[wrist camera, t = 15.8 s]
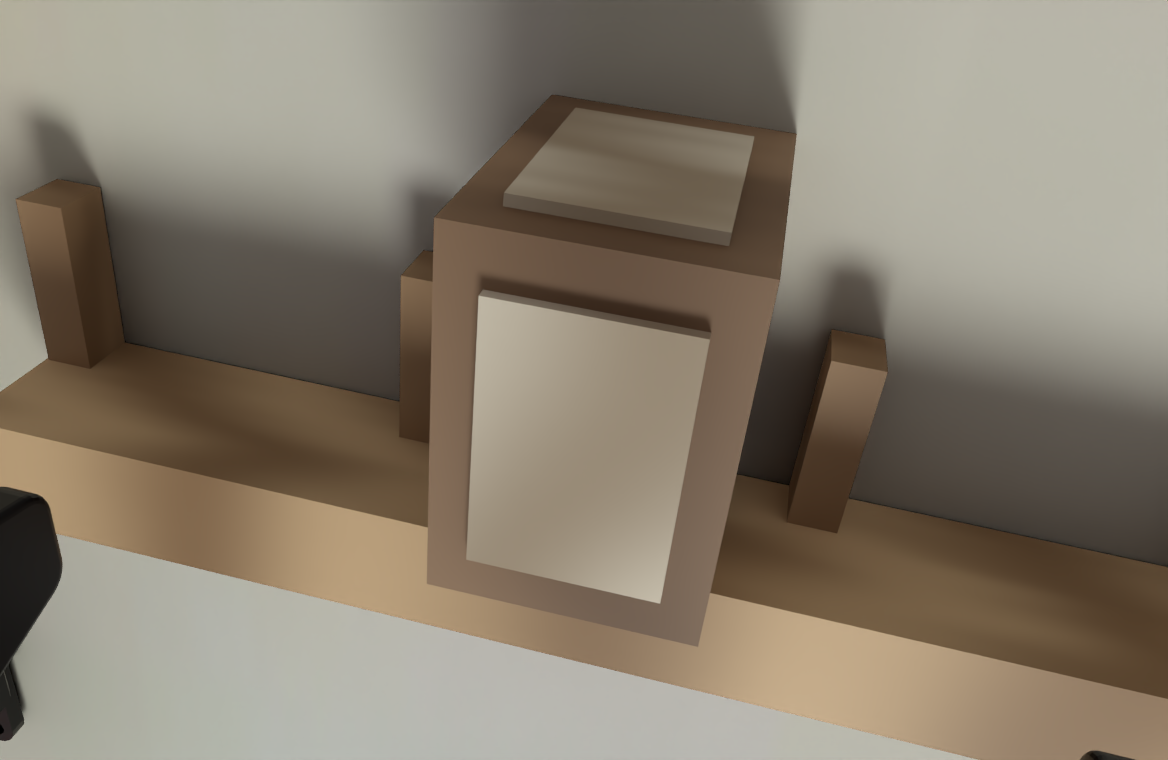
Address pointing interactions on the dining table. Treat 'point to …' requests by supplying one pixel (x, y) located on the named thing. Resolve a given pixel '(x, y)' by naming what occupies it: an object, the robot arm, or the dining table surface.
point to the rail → (717, 666)
